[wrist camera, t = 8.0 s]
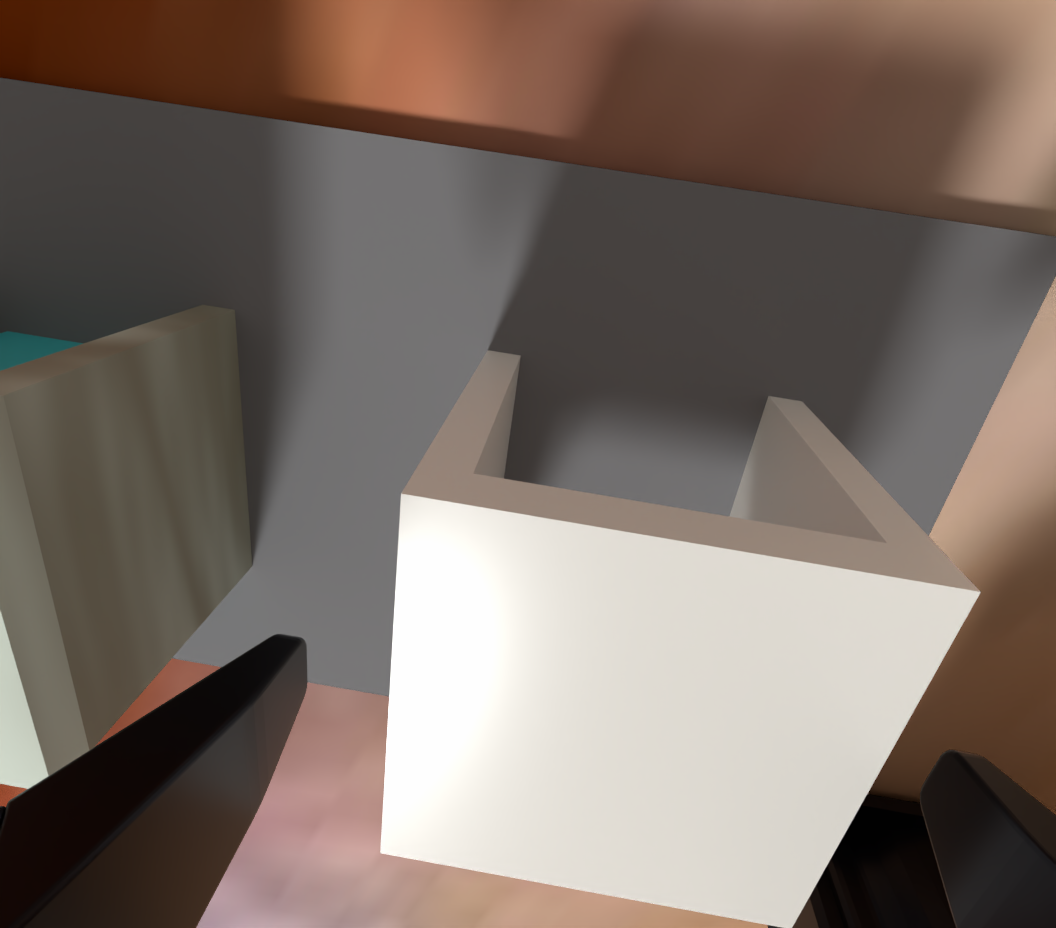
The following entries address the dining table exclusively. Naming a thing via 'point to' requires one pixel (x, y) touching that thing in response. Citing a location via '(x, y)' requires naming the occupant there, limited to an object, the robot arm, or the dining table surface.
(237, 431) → the cover
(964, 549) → the dining table surface
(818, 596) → the cover
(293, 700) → the robot arm
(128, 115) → the mat
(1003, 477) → the dining table surface
